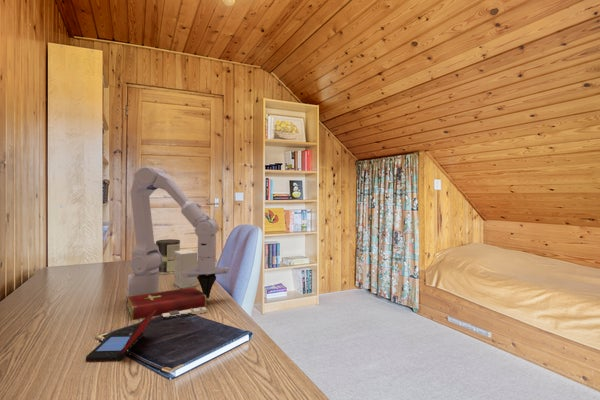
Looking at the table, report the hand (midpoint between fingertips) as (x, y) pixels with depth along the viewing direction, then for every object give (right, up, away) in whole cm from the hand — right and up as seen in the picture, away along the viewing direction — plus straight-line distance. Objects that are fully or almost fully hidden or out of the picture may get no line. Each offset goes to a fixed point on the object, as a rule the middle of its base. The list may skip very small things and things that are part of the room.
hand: (206, 297), depth 107 cm
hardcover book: (-11, -2, -6) cm, 12 cm away
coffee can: (-29, -1, +42) cm, 51 cm away
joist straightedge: (-3, -2, -12) cm, 12 cm away
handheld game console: (-9, -2, -33) cm, 34 cm away
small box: (-14, -1, +20) cm, 24 cm away
